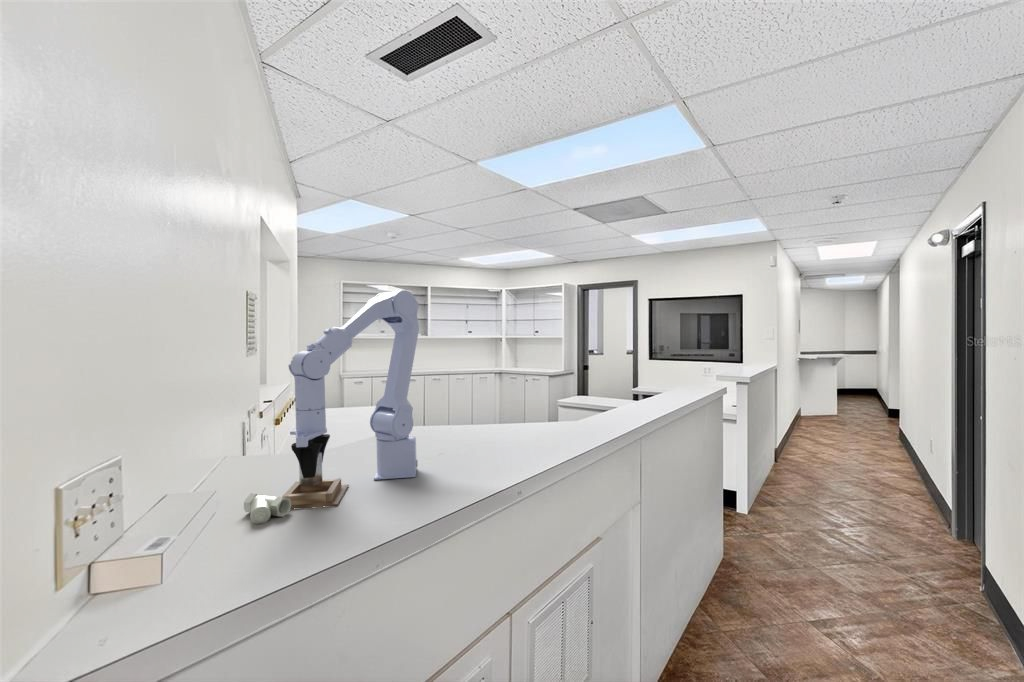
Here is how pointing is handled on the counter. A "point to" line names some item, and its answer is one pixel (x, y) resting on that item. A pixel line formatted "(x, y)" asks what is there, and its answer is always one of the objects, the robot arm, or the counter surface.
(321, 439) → the robot arm
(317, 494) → the cradle board
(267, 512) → the pipe fitting
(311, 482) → the silver metal cylinder
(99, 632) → the counter surface
